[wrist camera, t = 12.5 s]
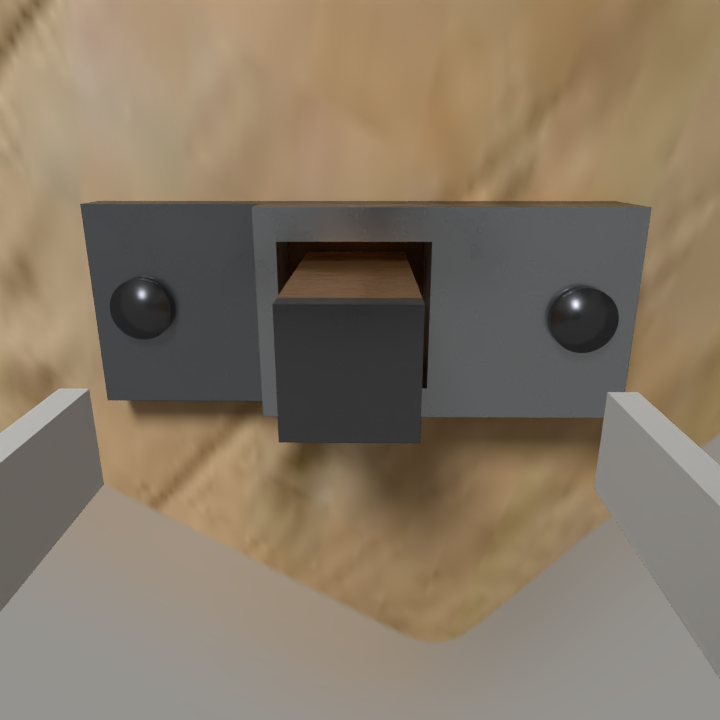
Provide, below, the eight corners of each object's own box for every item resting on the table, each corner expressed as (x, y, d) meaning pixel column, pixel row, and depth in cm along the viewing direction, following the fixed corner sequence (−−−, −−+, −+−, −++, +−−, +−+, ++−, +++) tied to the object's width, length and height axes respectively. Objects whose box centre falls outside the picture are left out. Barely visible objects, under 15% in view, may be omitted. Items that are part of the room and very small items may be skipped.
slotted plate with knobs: (98, 201, 31) (53, 208, 26) (616, 201, 30) (657, 208, 26) (122, 386, 34) (86, 420, 29) (592, 388, 33) (625, 423, 29)
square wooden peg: (307, 251, 31) (272, 304, 20) (404, 251, 31) (424, 304, 20) (310, 344, 33) (279, 442, 22) (402, 344, 33) (420, 442, 21)
